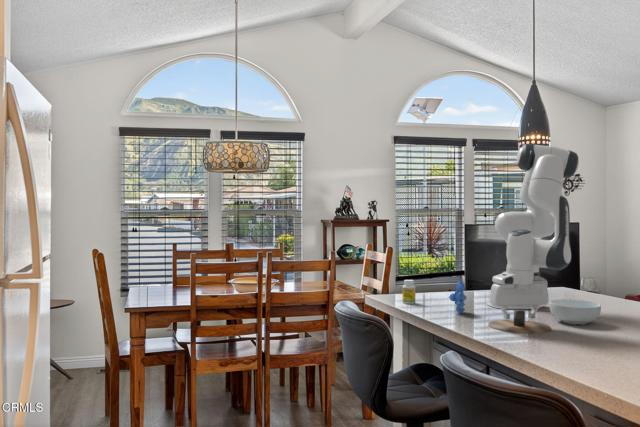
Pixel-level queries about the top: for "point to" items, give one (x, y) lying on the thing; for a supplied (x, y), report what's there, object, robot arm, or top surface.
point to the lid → (519, 324)
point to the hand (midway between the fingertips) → (519, 318)
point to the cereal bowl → (575, 310)
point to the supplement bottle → (409, 292)
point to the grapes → (459, 297)
